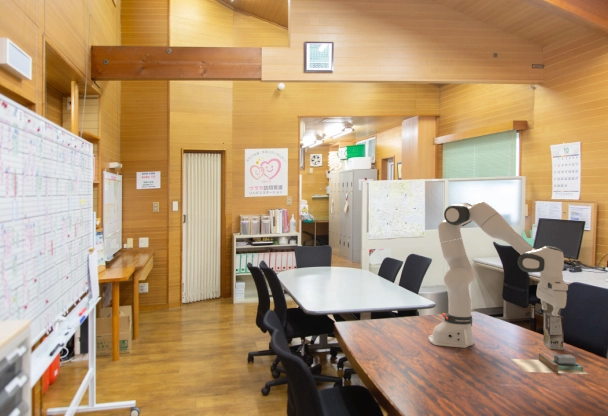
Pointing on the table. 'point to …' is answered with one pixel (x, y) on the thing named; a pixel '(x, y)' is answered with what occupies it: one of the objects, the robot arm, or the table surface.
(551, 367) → the lock board
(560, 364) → the block
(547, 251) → the robot arm
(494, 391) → the table surface
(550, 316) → the coffee box
